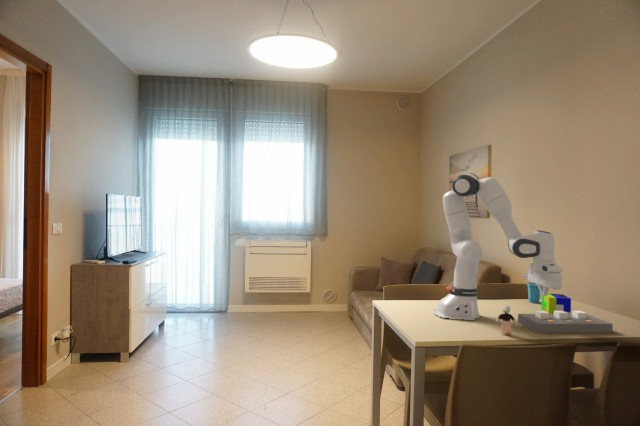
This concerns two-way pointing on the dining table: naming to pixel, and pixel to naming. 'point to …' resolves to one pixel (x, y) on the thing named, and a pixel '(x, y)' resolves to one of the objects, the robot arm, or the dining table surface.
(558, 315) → the button middle
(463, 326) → the dining table surface
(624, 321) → the dining table surface
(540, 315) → the button
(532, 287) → the cup
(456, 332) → the dining table surface
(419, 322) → the dining table surface
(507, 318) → the grandmother figurine
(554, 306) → the puzzle toy
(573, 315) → the button
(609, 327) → the button board
